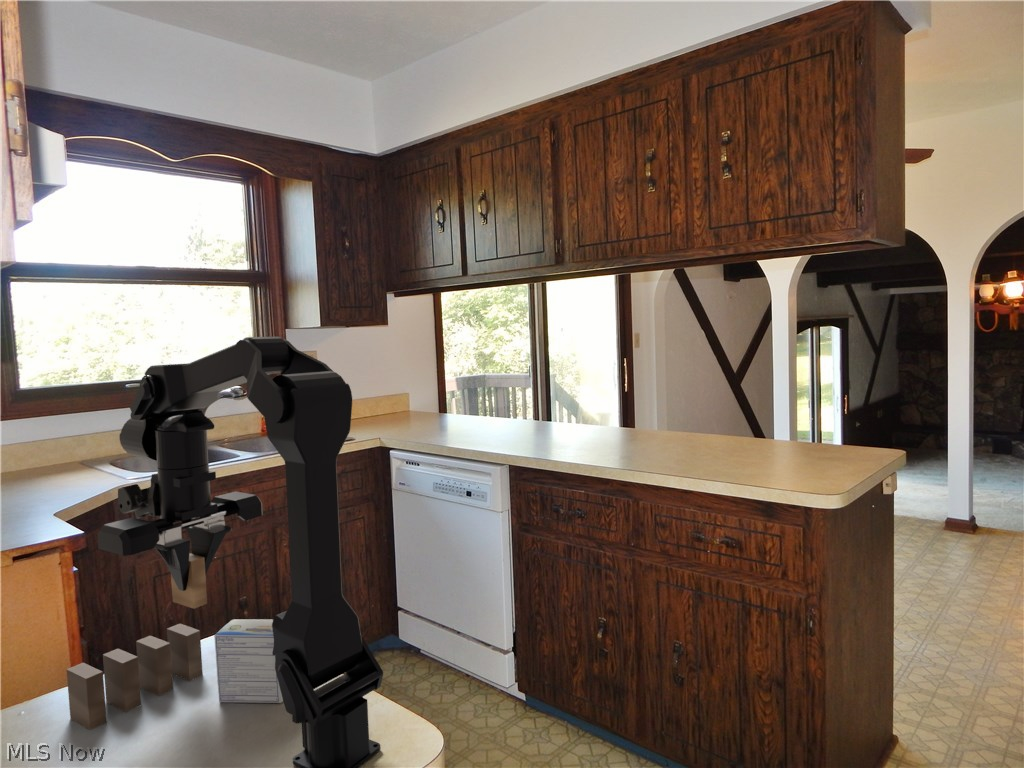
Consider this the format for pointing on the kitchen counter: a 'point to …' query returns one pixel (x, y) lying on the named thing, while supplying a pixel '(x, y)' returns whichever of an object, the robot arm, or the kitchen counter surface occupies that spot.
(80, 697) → the domino
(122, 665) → the domino
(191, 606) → the domino
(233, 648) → the medicine box
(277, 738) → the kitchen counter surface
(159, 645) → the domino
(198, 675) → the domino
